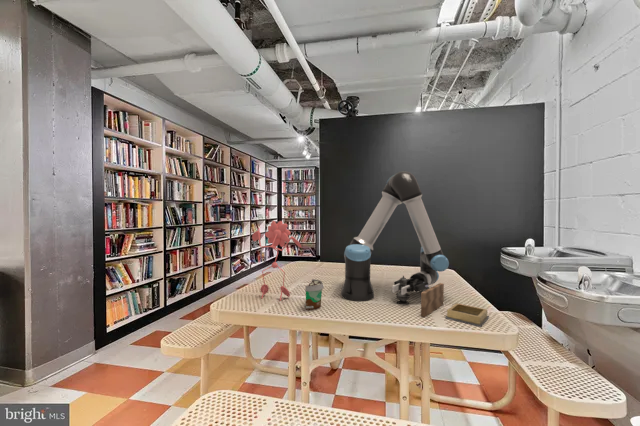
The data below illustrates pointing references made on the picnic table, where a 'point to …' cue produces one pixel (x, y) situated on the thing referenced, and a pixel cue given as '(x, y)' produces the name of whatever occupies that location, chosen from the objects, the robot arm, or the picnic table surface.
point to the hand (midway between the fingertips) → (397, 290)
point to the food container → (314, 294)
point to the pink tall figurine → (276, 237)
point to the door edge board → (432, 299)
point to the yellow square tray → (467, 314)
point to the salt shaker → (406, 296)
